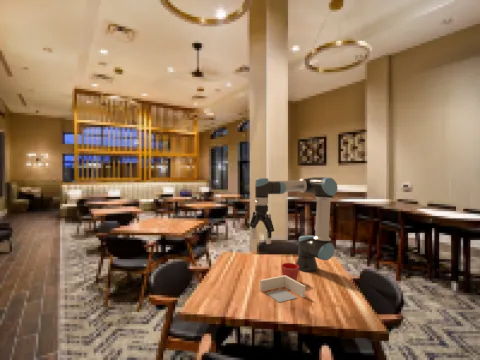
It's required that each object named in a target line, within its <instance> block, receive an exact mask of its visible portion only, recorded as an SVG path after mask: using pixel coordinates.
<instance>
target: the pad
mask: <svg viewBox="0 0 480 360" xmlns="http://www.w3.org/2000/svg"><path fill="white" fill-rule="evenodd" d="M265 294H266V295H268V296H269V297H270V298H271V299H273V300H275V301H276V302H277V303H283V302H287V301H291V300H295V299H298V296H296V295H294V294H293V293H291V292H290V291H288V290H287V289H285V288H282V289H277V290H273V291H269V292H266V293H265Z"/></svg>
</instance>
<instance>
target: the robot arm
mask: <svg viewBox="0 0 480 360" xmlns="http://www.w3.org/2000/svg"><path fill="white" fill-rule="evenodd" d="M254 186H255V187H254V188H255V189H254V190H255V192H254V193H255V197H254V199H255V200H254V202H255V206H254V211H253V212H252V217H251V220H250V222H249V223H250V224H249V227H251V239H252V240H256V239H257V238H258V237H257V235H258V231H257V230H258V228H257V226H258V224H259V222H262V223H263V225H264V227H265V229H266V233H265V235H266V237H265V238H266V240H265V241H266V243H265V244H266V245H269V244H270V245H271V244H272V232H275V228H274V225H273V221H272V217H271V216H272V215H271V214H270V213H268V211H269V205H268V204H269V195H283V194H285V193H292V192H299V193H303V194H304V193H305V194H307V193H308V194H311V195H313V194H314V198H315V199H316V212H315V213H316V214H315V233H314V234H315V235H312V234H311V235H310V234H309V235H307V234H306V235H300V236H299V237H298V243H297V245H298V247H297V248H298V253H297V254H298V256H297V260H296V263H295V264H296V265H298V266H299V271H300V272H301V271H302V272H308V273H312V272H317V271H318V269H319V267H318V263H317V260H316V259H319V260H322V261H329V260H331V259H332V258H333V256H334V255H335V249H336V248H335V246H334V244H333V243H332V239H331V237H330V219H331V218H330V216H331V214H330V213H331V200H333V199H334V196H335V195H336V194H337V192H338V183H337V181H335V179H334V178H332V177H327V176H325V177H322V176H321V177H319V176H317V177H316V176H315V177H314V176H313V177H308V178H299V180H269V178H266V177H257V178H256V179H255V184H254ZM267 213H268V214H267Z"/></svg>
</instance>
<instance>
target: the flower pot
mask: <svg viewBox="0 0 480 360" xmlns="http://www.w3.org/2000/svg"><path fill="white" fill-rule="evenodd" d="M280 268H281V276H283V275H286V276H288V277H290V278H292V279H293V280H295V281H297V282H298V276H299V271H300V270H299V266H298V265H296V263H294V262H293V263H291V262H286V263H282V264H281V265H280Z"/></svg>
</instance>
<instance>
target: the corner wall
mask: <svg viewBox="0 0 480 360" xmlns="http://www.w3.org/2000/svg"><path fill="white" fill-rule="evenodd" d="M280 288H286V289H288V290H289V291H291V292H293V293H295V295H298V296H300V297H301V298H306V285H305V284H302V283H301V282H299V281H298V280H297V281H295V280H293V279H292V278H290V277H288V276H286V275H277V276H274V277H269V278H263V279H260V280H259V291H260V292H267V291H271V290H275V289H280Z"/></svg>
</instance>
